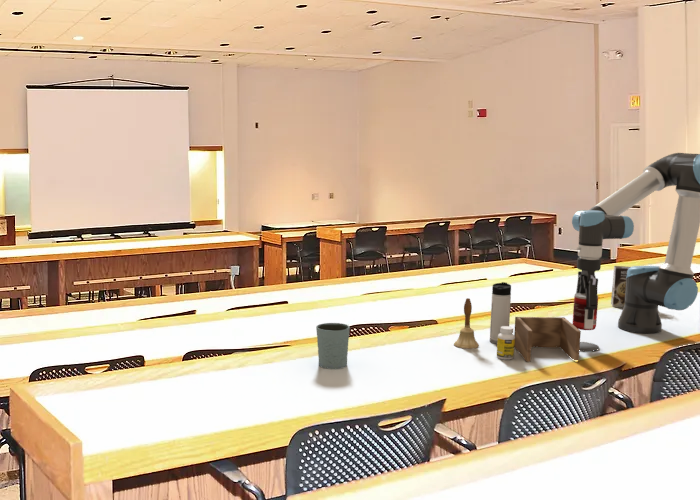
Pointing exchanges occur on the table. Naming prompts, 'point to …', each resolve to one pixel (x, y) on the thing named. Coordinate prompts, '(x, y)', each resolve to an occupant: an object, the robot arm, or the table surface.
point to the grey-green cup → (332, 345)
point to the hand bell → (467, 330)
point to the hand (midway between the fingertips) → (584, 325)
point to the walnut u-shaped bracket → (546, 335)
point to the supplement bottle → (506, 343)
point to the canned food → (582, 311)
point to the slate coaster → (588, 346)
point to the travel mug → (499, 309)
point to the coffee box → (619, 286)
